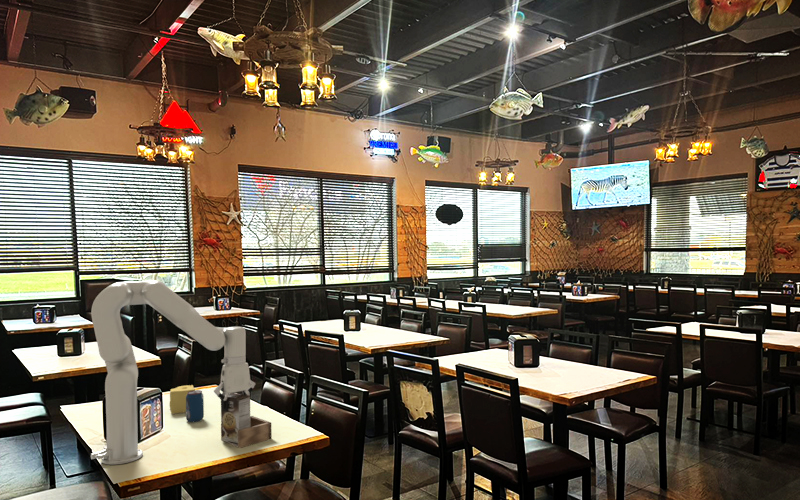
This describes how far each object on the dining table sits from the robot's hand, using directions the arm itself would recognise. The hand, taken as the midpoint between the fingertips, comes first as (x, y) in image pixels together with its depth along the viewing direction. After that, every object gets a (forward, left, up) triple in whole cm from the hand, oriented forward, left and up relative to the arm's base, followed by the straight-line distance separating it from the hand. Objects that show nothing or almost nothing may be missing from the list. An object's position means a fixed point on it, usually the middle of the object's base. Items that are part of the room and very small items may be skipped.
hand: (235, 408), depth 201 cm
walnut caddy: (+4, 0, -12) cm, 13 cm away
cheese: (+7, +58, -13) cm, 60 cm away
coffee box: (0, 0, -12) cm, 12 cm away
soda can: (+3, +38, -13) cm, 40 cm away
